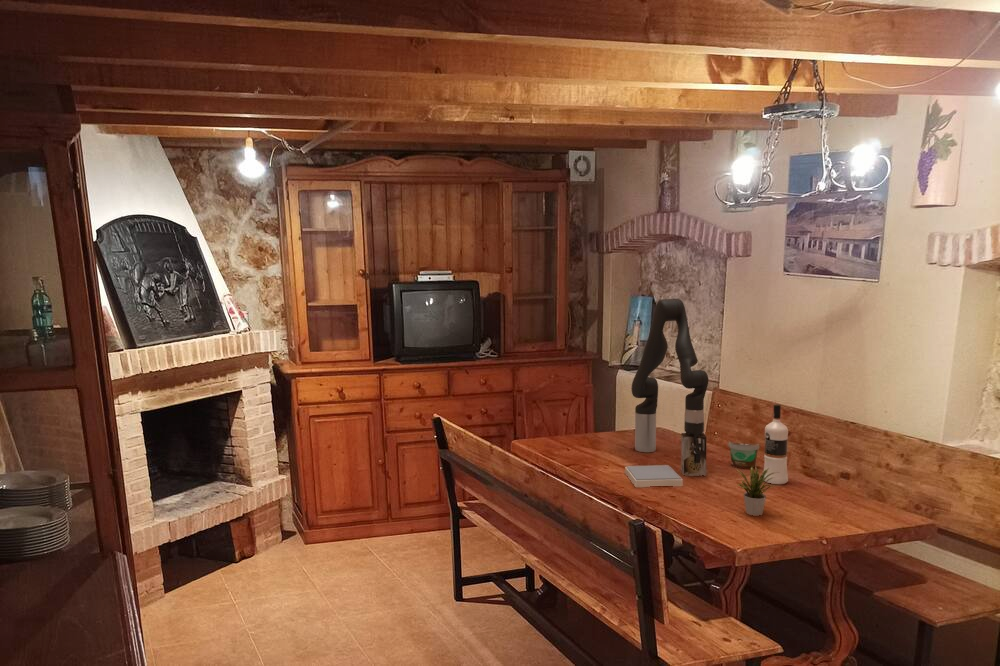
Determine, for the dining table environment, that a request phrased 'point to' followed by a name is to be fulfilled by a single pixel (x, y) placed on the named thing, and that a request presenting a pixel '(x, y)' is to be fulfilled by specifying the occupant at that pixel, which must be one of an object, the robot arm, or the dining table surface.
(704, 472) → the coffee box
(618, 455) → the dining table surface
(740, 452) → the food container
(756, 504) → the house plant
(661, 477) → the podium
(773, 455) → the vodka
